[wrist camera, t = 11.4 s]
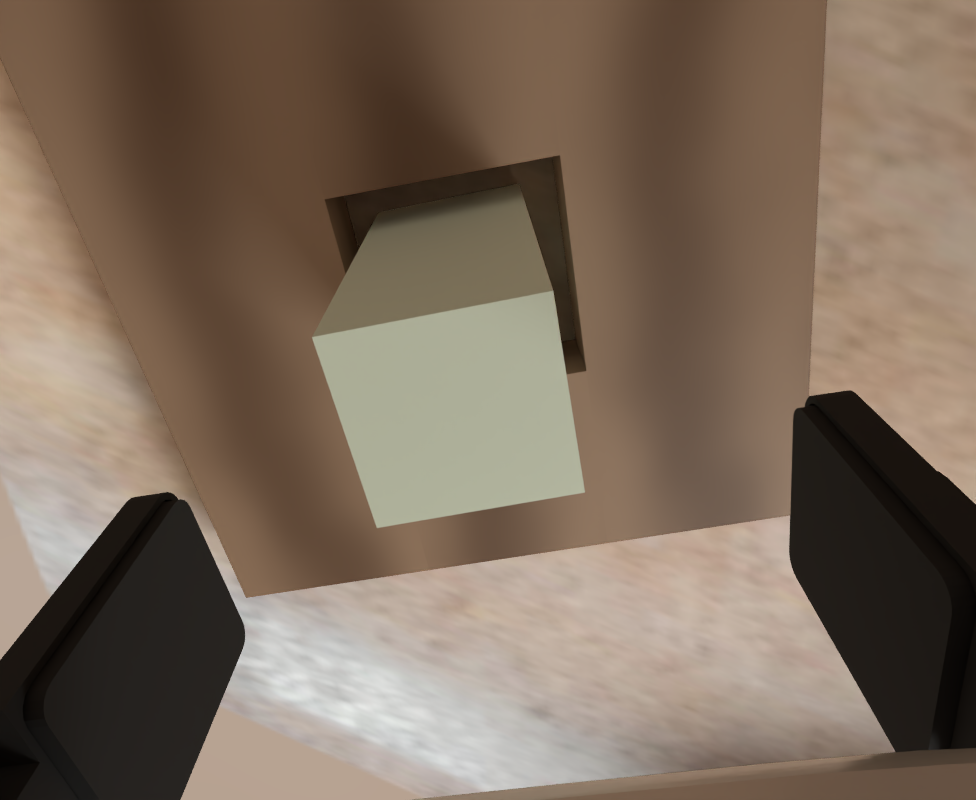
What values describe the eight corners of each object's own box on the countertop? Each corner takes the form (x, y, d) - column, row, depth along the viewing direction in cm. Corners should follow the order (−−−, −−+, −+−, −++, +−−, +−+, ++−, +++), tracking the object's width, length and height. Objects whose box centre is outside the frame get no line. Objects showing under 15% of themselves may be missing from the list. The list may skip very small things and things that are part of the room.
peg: (519, 183, 21) (553, 291, 12) (541, 317, 23) (585, 492, 14) (378, 212, 21) (312, 337, 12) (413, 341, 23) (377, 527, 14)
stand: (789, -201, 17) (837, -237, 15) (775, 472, 26) (803, 513, 24) (17, -34, 18) (-46, -44, 16) (264, 552, 27) (246, 597, 25)
